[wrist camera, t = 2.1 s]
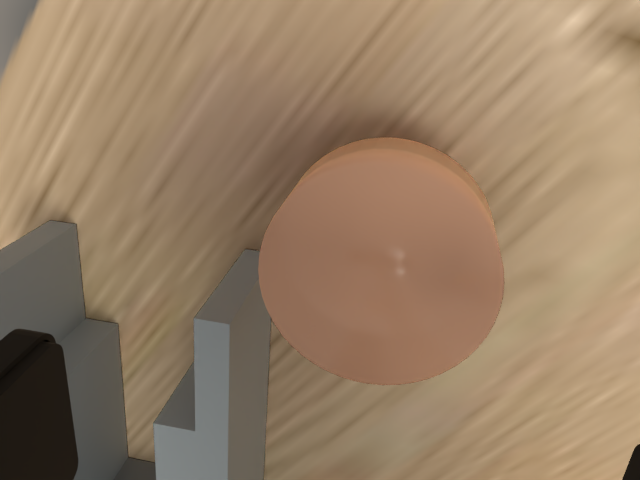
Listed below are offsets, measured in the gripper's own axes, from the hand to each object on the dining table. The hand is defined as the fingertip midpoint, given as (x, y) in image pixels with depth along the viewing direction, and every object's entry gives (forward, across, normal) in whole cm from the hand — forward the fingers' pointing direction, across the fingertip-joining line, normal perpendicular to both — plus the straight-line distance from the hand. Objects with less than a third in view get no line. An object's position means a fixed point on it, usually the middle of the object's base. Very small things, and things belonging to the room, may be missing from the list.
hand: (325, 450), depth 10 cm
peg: (+15, 0, +1) cm, 15 cm away
